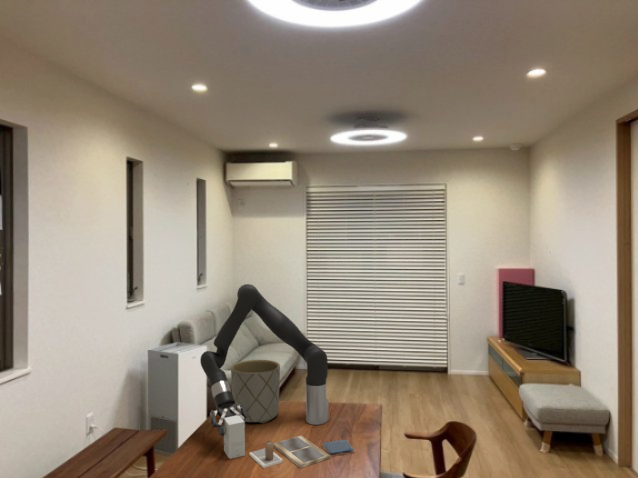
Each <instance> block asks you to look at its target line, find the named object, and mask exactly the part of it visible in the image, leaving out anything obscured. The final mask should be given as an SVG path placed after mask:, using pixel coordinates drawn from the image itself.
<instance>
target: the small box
mask: <svg viewBox="0 0 638 478" xmlns="http://www.w3.org/2000/svg"><path fill="white" fill-rule="evenodd" d="M245 424H246V422H244V421H243V419H242V418H241V417H240V416H231V417H227V418H224V419H223V429H224V432H225V435H224V436H223V450H224V453H225V455H226V456H227V457H228V459H229V460H232V459H235V458H241V457H244V456H246V434H245V433H246V431H245V430H246V429H245Z"/></svg>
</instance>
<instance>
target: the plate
mask: <svg viewBox="0 0 638 478" xmlns="http://www.w3.org/2000/svg"><path fill="white" fill-rule="evenodd" d="M273 443H274V441H271V440H268V441H266V442H264V448H262V449H258V450H253V451H250V452H249V453H248V454H249V456H250V458H252V459H253V461H254V462H256V463H257V464H258V465H259V466H260V467H261V468H262V469H266V468H268V467H269V468H270V467H272V466H276V465H279V464H282V463H283V462H284V459H283V458H282V457H280V456H279V455H278V454H277V453H276V452H274V447H273Z"/></svg>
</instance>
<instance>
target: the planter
mask: <svg viewBox="0 0 638 478" xmlns="http://www.w3.org/2000/svg"><path fill="white" fill-rule="evenodd" d="M280 378H281V364H280V363H279V362H277V361H274V360H272V359H271V360H269V359H250V360H249V359H248V360H243V361H239V362H236V363H234V364H232V365H231V366H230V379H231V391H232V394H233V398H234V401H235V404H236V406H239V405H241V404H244V407H245V409H246V412H247V414H248V417H247V418H246V420H244V421H245V423H260V424H266V423H268V422H269V421H272V420H273V419H274V418H275V417H277V415H278V413H279V401H280V400H279V399H280V380H281V379H280ZM237 411H238V412H239V413H240V415H242V414H241V411H239V410H238V409H237ZM235 415H236V414H235ZM236 416H237V415H236Z"/></svg>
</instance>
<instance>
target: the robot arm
mask: <svg viewBox="0 0 638 478" xmlns="http://www.w3.org/2000/svg"><path fill="white" fill-rule="evenodd" d="M236 295H237V300H236V303H235V305H234V307H233V310H232V312H231V313H230V315H229V316H228V318H227V319H226V320H225V322H224V323H223V324H222V326H221V328H220V330H219V331H218V332H217V334H216V337H215V338H214V340H213V345H214V346H215V348H216V351H212V350H206V351H204V352H203V353H202V354H201V356H200V360H199V361H200V362H199V363H200V366H201V368H202V370H203V371H204V372H203V373H205V376H206V377H207V378H208V381H209V384H210V388H211V393H212V399H213V401H214V404H215V407H216V410H214V409H211V411H210V413H209V418H210V422H211V426H212V428H217V429H218V430H217V431H218V434H219V436H220V437H224V435H225V432H224V424H222V423H224V418H227V417H231V416H236V415H237V416H240V417H241V418H242V419H243V421H244V420H246V418H247V417H248V414H247V412H246V409H245V407H244V404H241V405H239V406H236V404H235V401H234V398H233V394H232V387H231V385H230V384H229V381H228V378H227V375H226V372H225V371H224V370H223V369H221V368H223V366H224V365H225V362H226V360H227V357H228V353H229V352H228V351H229V349H230V346H231V344H232V342H233V341H234V339H235V337H236V336H237V334H238V331H239V330H240V328H241V326H242V324H243V323H244V321H245V320H246V318H247V317H248V315H249V313H250V312H251V311H252V312H254V313H255V314H256V315H257V316H258V317H259V318H260V320H261V321H262V322H263V323H264V325H265V326H266V327H267V328H268V329H269V330H270V331H271V332H272V333H273V334H274V335H275V336H276V337H277V338H279V339H280V340H281V341H282V342H284V343H285V344H287V345H288V346H290V347H291V348H293V349H294V350H295V351H296V352H297V354H299V355H300V357H301V358H302V359H303V361H304V362H305V363H306V365H307V371H306V372H307V374H306V376H305V411H306V412H305V413H306V415H305V417H306V419H305V420H306V423H308V424H310V425H316V426H317V425H318V426H319V425H323V424H325V423H327V422H328V421H329V399H328V398H327V378H328V360H329V359H328V355H327V353H326V351H324V349H322V348H321V347H320V346H318V345H316V344H315V343H313V342H312V341H311V340H309V339H308V338H307V337H306V336H305V335H304V334H303V332H302V331H301V330H300V329H299V327H298V326H297V325H296V324H295V323H294V322H293V321H292V320H291V319H290V318H289V317H288V316H286V315H285V314H284V313H283V312H282V311H280V310H279V308H278V307H276V306H274V305H272V304H271V303H270V302H269V301H268V300H267V299H266V298H265V297H264V296H263V295H262V294H261V293H260V291H259V290H258V289H257V286H255V285H253V284H251V283H250V284H249V283H246V284H243V285H240V287H239V288H238V290H237V294H236ZM237 409H238V410H239V411H241V414H242V415H240V413H239V412H238V411H237ZM235 414H236V415H235ZM216 416H219V420H218V422H217V417H216ZM244 422H245V421H244ZM246 429H247V425H246V422H245V430H246Z"/></svg>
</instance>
